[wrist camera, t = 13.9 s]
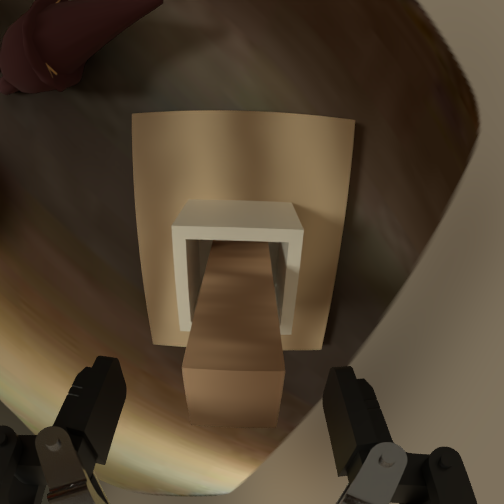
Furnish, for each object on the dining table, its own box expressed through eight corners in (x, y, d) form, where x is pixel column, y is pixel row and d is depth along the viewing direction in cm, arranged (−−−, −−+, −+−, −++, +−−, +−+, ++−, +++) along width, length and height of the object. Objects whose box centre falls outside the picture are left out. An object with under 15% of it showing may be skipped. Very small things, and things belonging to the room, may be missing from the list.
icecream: (142, -75, 9) (-39, 34, 10) (134, 22, 10) (-55, 126, 12) (180, -15, 15) (17, 54, 17) (184, 73, 17) (11, 133, 19)
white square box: (192, 288, 23) (180, 331, 19) (188, 199, 20) (171, 225, 16) (283, 291, 23) (291, 334, 19) (291, 202, 21) (303, 229, 16)
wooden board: (155, 336, 26) (153, 344, 25) (136, 113, 19) (131, 113, 18) (319, 342, 27) (321, 349, 26) (350, 119, 19) (355, 120, 18)
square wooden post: (216, 275, 22) (190, 424, 11) (215, 230, 20) (181, 367, 9) (263, 276, 22) (276, 427, 11) (266, 231, 20) (285, 371, 9)
